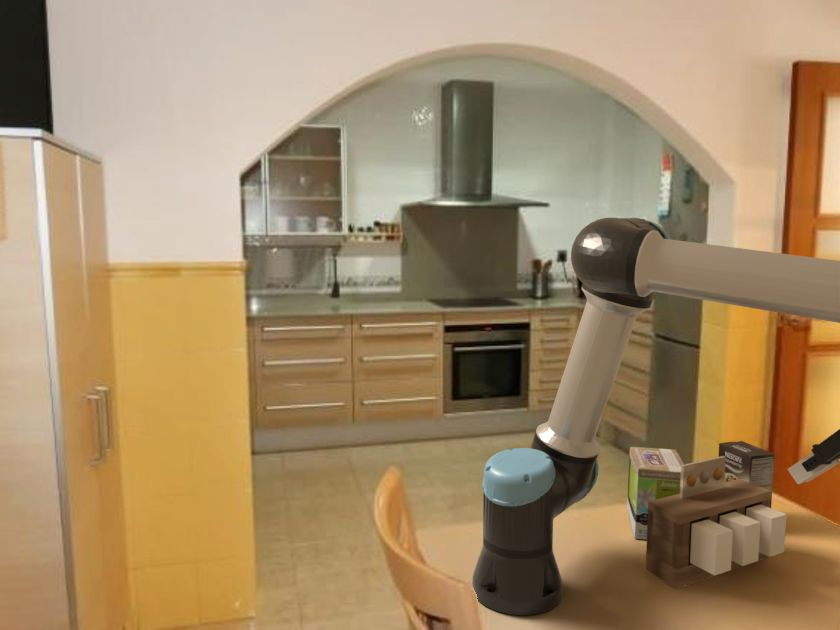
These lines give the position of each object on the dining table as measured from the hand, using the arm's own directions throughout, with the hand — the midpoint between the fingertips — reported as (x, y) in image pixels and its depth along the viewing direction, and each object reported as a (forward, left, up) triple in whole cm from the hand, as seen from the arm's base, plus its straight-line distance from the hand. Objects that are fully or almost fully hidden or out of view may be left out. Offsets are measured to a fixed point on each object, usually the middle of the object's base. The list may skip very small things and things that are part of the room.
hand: (798, 475), depth 107 cm
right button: (+1, +12, -18) cm, 22 cm away
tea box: (-13, +30, -22) cm, 39 cm away
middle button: (-5, +8, -18) cm, 21 cm away
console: (-8, +14, -22) cm, 27 cm away
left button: (-11, +5, -18) cm, 22 cm away
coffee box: (+6, +33, -22) cm, 40 cm away
